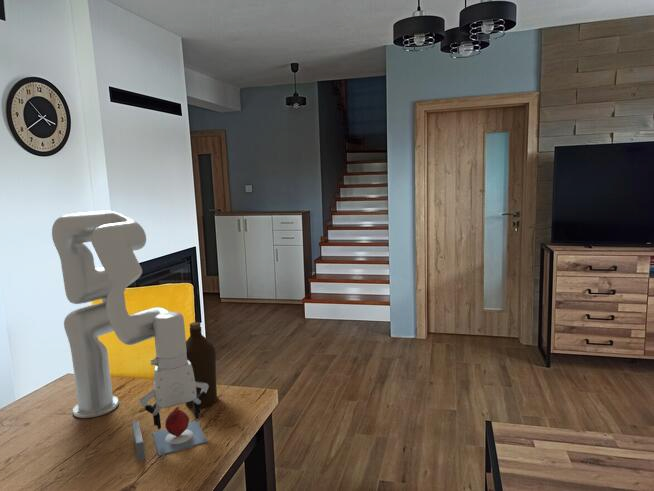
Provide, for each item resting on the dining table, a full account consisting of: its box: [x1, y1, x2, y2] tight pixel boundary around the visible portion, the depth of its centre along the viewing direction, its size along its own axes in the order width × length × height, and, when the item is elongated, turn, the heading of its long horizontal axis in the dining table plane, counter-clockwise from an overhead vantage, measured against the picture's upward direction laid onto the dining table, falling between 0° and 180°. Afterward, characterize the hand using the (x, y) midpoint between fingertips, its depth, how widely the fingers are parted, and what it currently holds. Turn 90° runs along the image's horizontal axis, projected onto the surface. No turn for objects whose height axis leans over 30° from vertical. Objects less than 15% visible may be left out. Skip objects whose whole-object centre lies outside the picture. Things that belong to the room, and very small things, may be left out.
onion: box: [165, 405, 190, 436], centre depth 123 cm, size 6×6×8 cm
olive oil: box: [185, 321, 218, 409], centre depth 142 cm, size 11×11×25 cm
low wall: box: [131, 420, 146, 463], centre depth 119 cm, size 12×2×5 cm, turn 28°
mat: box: [152, 420, 208, 457], centre depth 124 cm, size 12×12×1 cm
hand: (177, 421), depth 123 cm, fingers open, 9 cm apart
